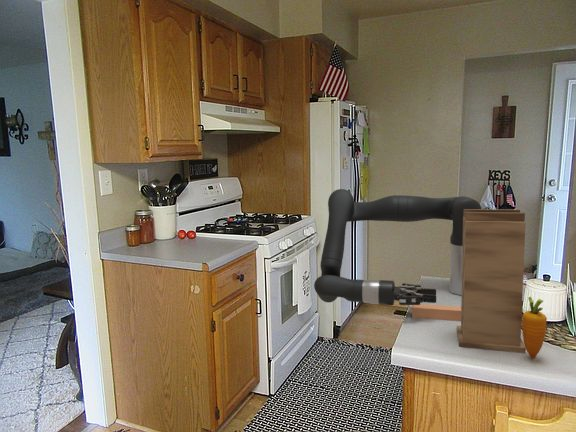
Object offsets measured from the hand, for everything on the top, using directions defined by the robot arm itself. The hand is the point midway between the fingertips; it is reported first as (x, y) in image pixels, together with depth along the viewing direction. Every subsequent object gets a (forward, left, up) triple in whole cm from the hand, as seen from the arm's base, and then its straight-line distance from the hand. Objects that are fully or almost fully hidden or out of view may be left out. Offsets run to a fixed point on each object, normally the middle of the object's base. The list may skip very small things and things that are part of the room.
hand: (435, 295), depth 128 cm
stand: (+14, +13, -6) cm, 20 cm away
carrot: (+22, +21, -7) cm, 31 cm away
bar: (0, +4, -7) cm, 8 cm away
